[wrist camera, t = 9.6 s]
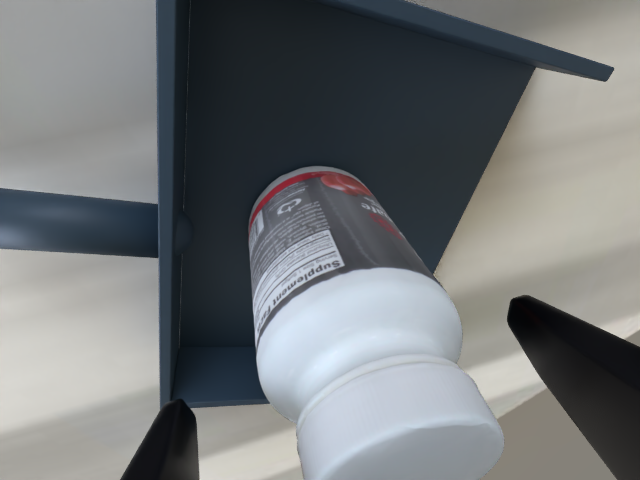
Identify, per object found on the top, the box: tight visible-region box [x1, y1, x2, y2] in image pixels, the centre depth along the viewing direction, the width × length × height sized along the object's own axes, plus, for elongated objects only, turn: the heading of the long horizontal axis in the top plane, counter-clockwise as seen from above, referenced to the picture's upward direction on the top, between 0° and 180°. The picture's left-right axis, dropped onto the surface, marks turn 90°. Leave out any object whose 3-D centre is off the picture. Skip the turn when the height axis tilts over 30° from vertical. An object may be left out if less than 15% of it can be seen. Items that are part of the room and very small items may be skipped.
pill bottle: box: [248, 166, 504, 480], centre depth 11 cm, size 5×5×10 cm
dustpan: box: [0, 0, 614, 410], centre depth 13 cm, size 19×16×3 cm
